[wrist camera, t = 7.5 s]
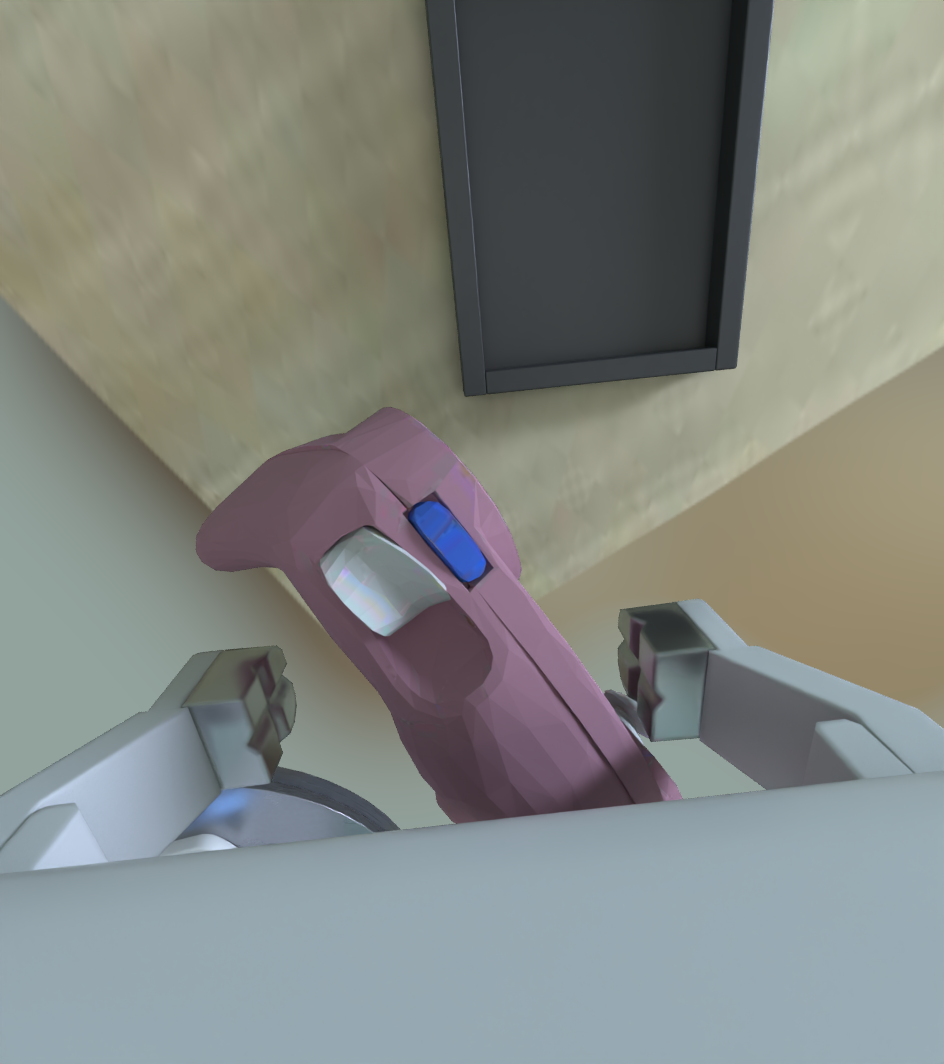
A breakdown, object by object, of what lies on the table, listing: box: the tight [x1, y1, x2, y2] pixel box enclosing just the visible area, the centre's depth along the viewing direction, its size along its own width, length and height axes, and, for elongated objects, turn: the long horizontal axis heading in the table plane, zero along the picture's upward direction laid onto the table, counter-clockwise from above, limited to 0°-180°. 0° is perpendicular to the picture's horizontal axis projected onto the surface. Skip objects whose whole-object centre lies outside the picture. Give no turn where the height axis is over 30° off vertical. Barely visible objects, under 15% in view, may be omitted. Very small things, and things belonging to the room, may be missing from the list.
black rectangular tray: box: [425, 0, 774, 397], centre depth 20 cm, size 12×16×2 cm
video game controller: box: [196, 407, 683, 824], centre depth 9 cm, size 10×5×7 cm, turn 33°
